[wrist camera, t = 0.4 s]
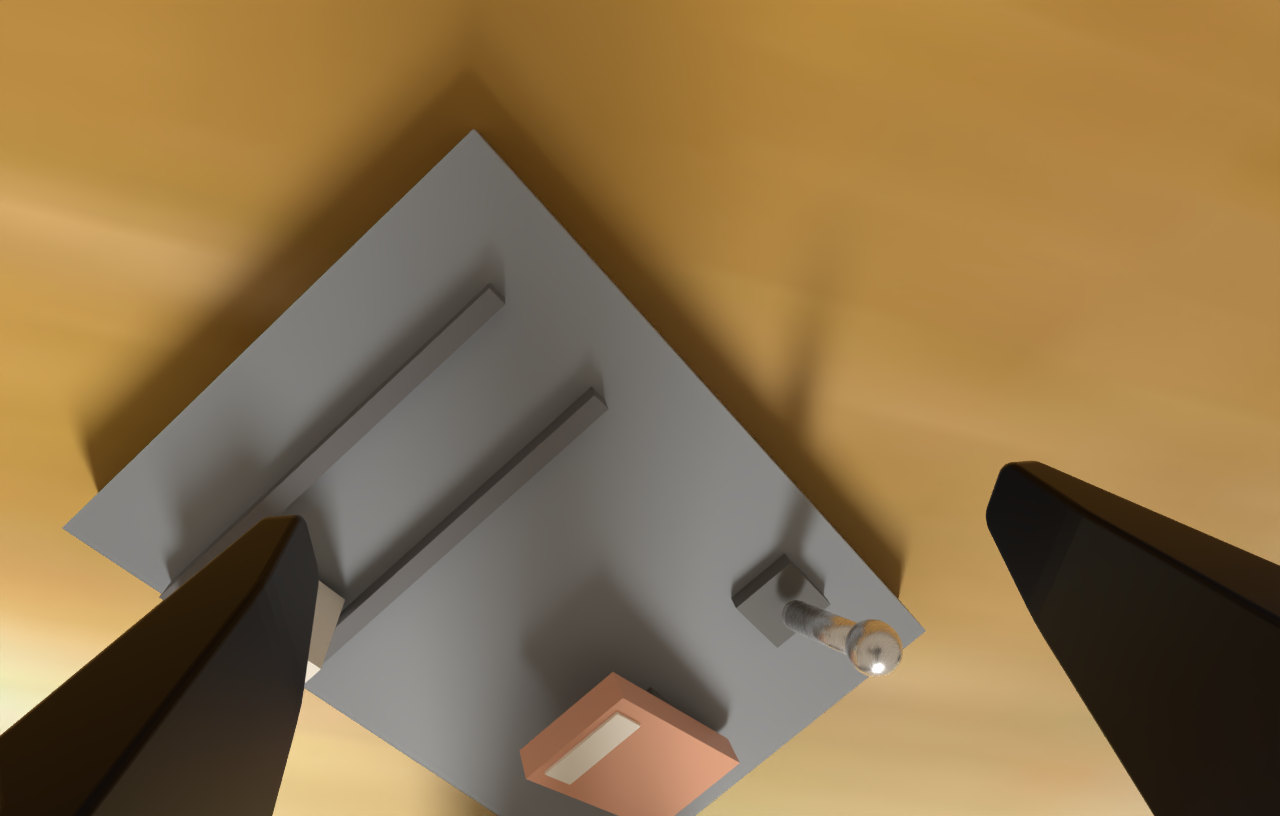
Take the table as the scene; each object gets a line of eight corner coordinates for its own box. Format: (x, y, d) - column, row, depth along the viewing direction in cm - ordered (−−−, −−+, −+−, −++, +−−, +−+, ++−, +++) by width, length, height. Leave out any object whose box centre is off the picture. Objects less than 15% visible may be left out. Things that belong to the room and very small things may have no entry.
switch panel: (600, 842, 31) (609, 908, 28) (98, 496, 23) (43, 544, 20) (899, 599, 29) (939, 646, 27) (476, 129, 21) (471, 128, 18)
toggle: (787, 644, 25) (895, 696, 21) (759, 617, 24) (864, 665, 20) (813, 605, 25) (923, 648, 21) (786, 578, 25) (894, 616, 21)
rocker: (646, 804, 28) (657, 833, 27) (519, 750, 23) (526, 781, 22) (728, 738, 27) (740, 765, 26) (612, 671, 23) (624, 700, 22)
